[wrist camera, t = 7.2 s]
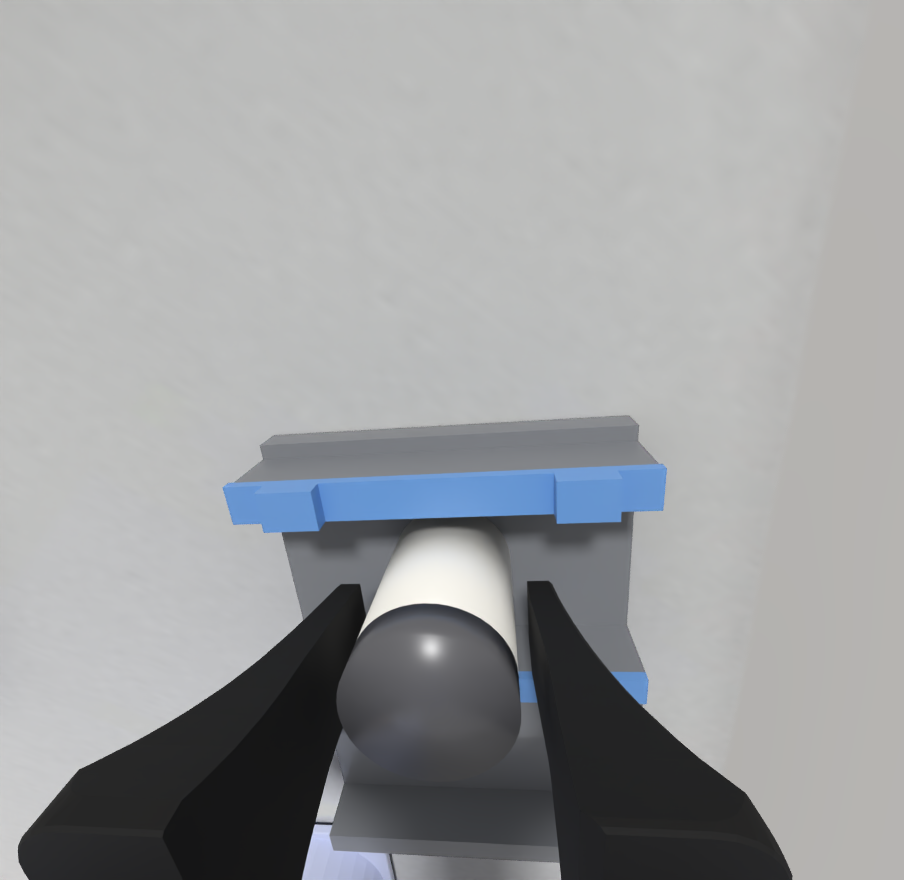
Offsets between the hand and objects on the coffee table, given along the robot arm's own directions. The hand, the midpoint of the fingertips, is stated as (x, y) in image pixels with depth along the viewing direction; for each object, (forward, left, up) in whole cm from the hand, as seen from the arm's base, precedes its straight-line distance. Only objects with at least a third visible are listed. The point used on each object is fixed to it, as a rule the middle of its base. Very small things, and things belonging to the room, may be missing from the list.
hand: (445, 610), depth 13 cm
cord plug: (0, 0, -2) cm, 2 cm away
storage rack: (-4, 0, -4) cm, 6 cm away
